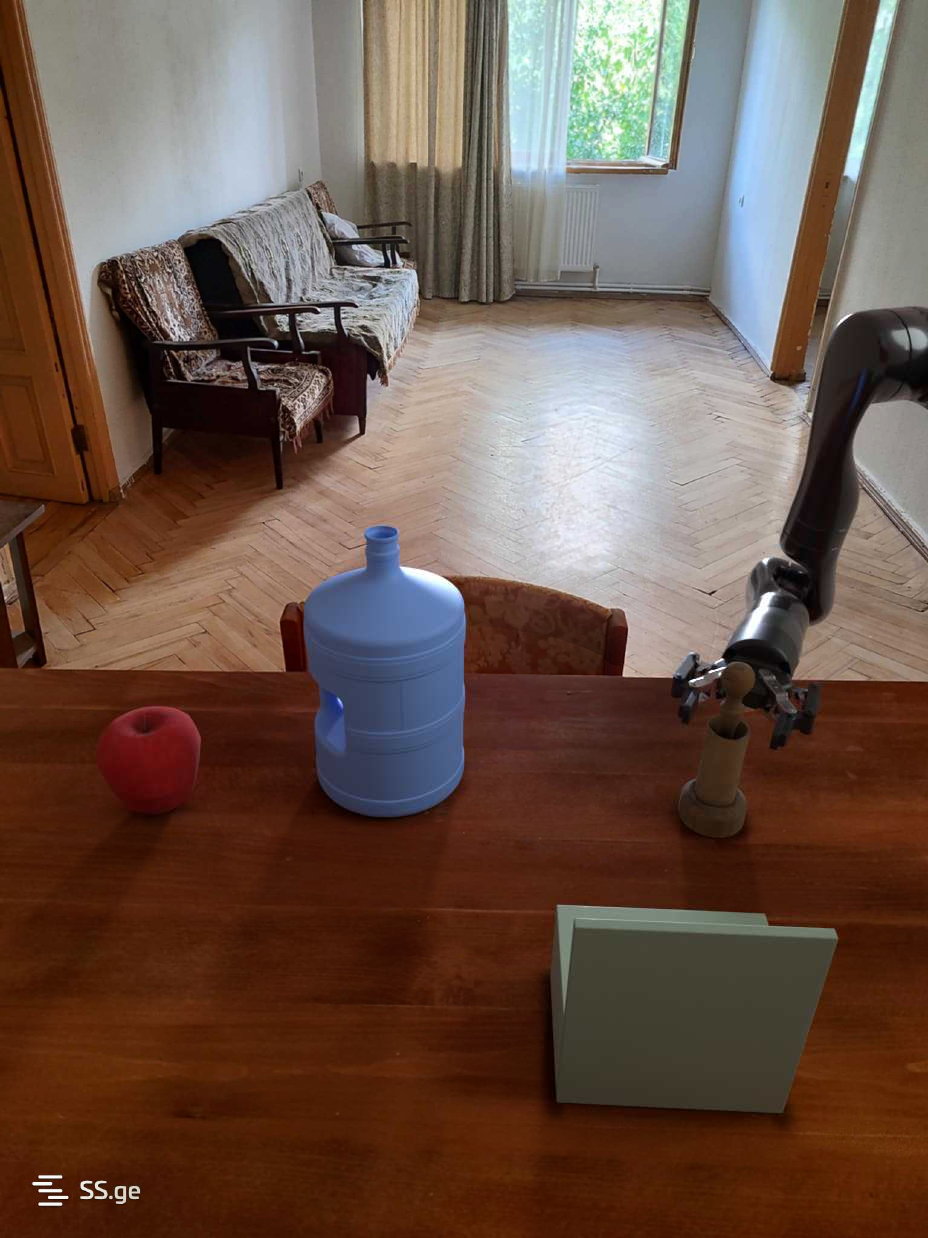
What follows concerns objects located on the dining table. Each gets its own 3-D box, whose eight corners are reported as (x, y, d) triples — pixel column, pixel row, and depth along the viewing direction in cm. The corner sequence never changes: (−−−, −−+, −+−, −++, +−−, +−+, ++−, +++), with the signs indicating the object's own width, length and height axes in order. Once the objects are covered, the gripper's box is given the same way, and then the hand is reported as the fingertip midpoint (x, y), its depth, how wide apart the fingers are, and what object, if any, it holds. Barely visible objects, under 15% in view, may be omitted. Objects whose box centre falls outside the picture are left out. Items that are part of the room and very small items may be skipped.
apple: (192, 760, 96) (177, 676, 91) (223, 810, 89) (209, 723, 84) (98, 792, 91) (76, 706, 86) (123, 848, 84) (101, 759, 79)
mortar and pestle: (740, 846, 86) (775, 692, 77) (673, 829, 87) (699, 677, 79) (746, 802, 91) (779, 654, 82) (682, 787, 93) (708, 641, 84)
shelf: (747, 984, 72) (789, 816, 63) (782, 1114, 62) (838, 939, 54) (550, 975, 72) (564, 808, 63) (556, 1103, 63) (574, 927, 54)
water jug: (475, 736, 100) (479, 506, 86) (448, 831, 87) (449, 577, 73) (342, 721, 102) (326, 494, 89) (297, 811, 89) (269, 561, 75)
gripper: (704, 607, 99) (662, 677, 86) (838, 638, 93) (814, 718, 81) (694, 664, 102) (653, 739, 90) (823, 697, 97) (798, 782, 84)
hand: (729, 729), depth 85 cm, fingers open, 8 cm apart
